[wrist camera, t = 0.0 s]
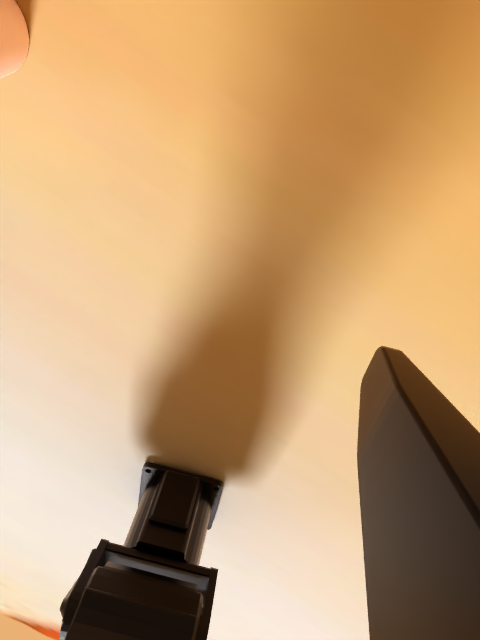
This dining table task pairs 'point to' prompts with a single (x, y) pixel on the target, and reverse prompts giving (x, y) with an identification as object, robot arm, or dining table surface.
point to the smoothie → (12, 38)
